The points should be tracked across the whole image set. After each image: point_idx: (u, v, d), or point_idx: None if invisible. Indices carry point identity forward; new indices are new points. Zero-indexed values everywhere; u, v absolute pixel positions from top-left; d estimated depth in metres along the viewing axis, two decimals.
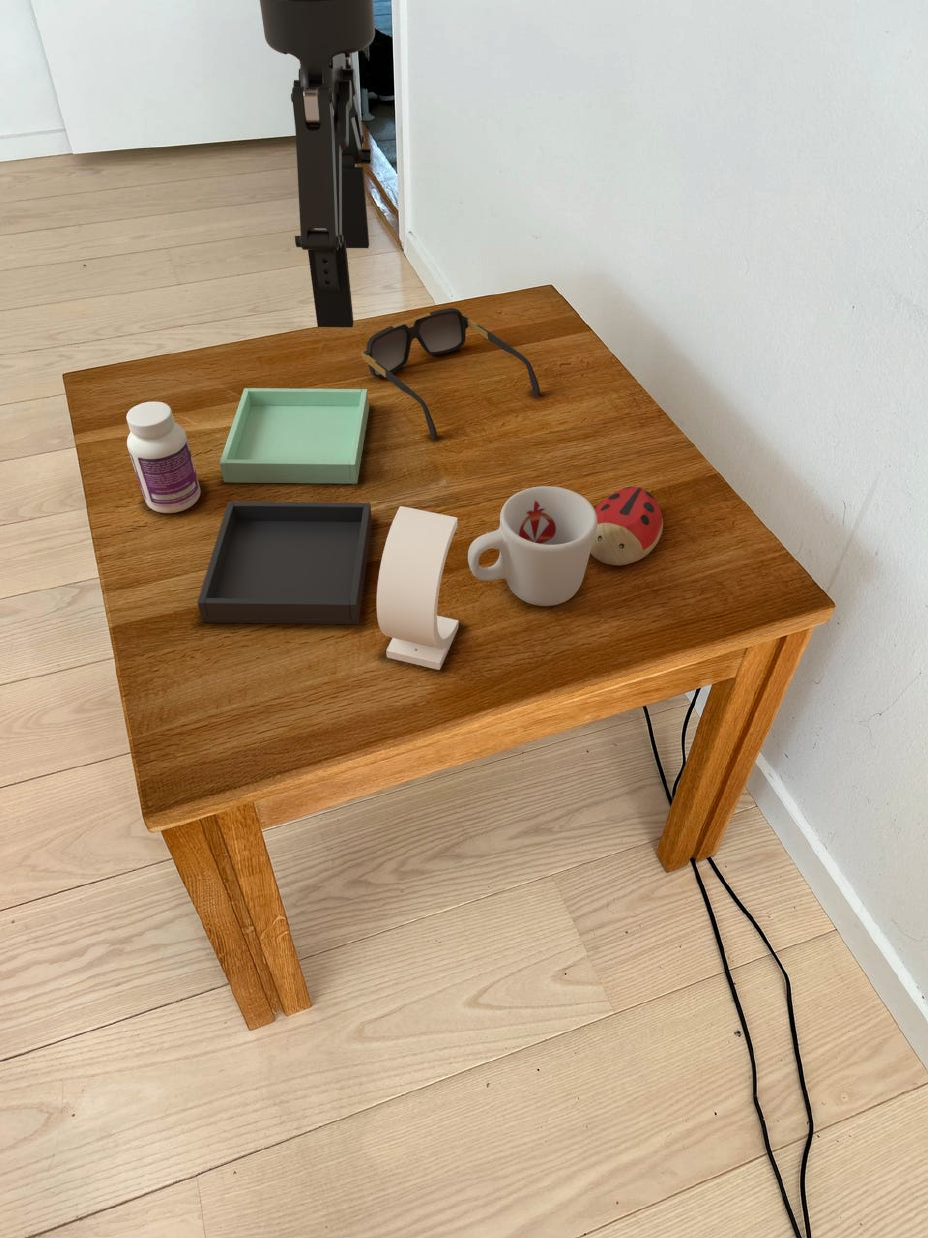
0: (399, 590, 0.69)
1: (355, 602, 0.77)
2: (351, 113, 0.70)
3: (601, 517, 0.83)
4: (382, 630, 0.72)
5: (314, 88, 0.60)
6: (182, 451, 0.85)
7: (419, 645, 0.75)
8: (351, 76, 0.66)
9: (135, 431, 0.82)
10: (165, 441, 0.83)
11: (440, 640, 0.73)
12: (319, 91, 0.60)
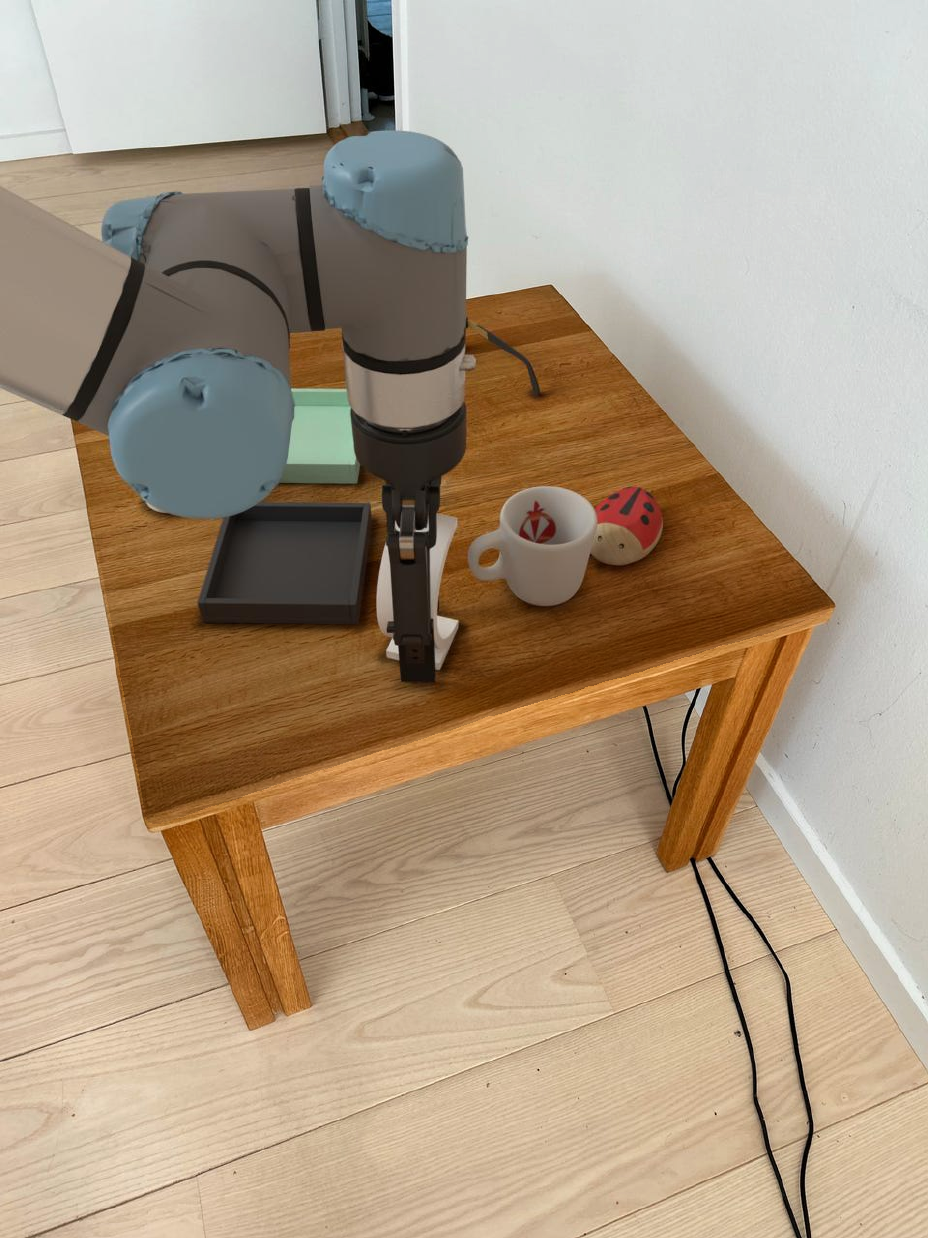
0: None
1: (355, 602, 0.77)
2: None
3: (601, 517, 0.83)
4: (382, 630, 0.72)
5: (410, 539, 0.59)
6: None
7: None
8: None
9: None
10: None
11: (440, 640, 0.73)
12: (415, 542, 0.59)
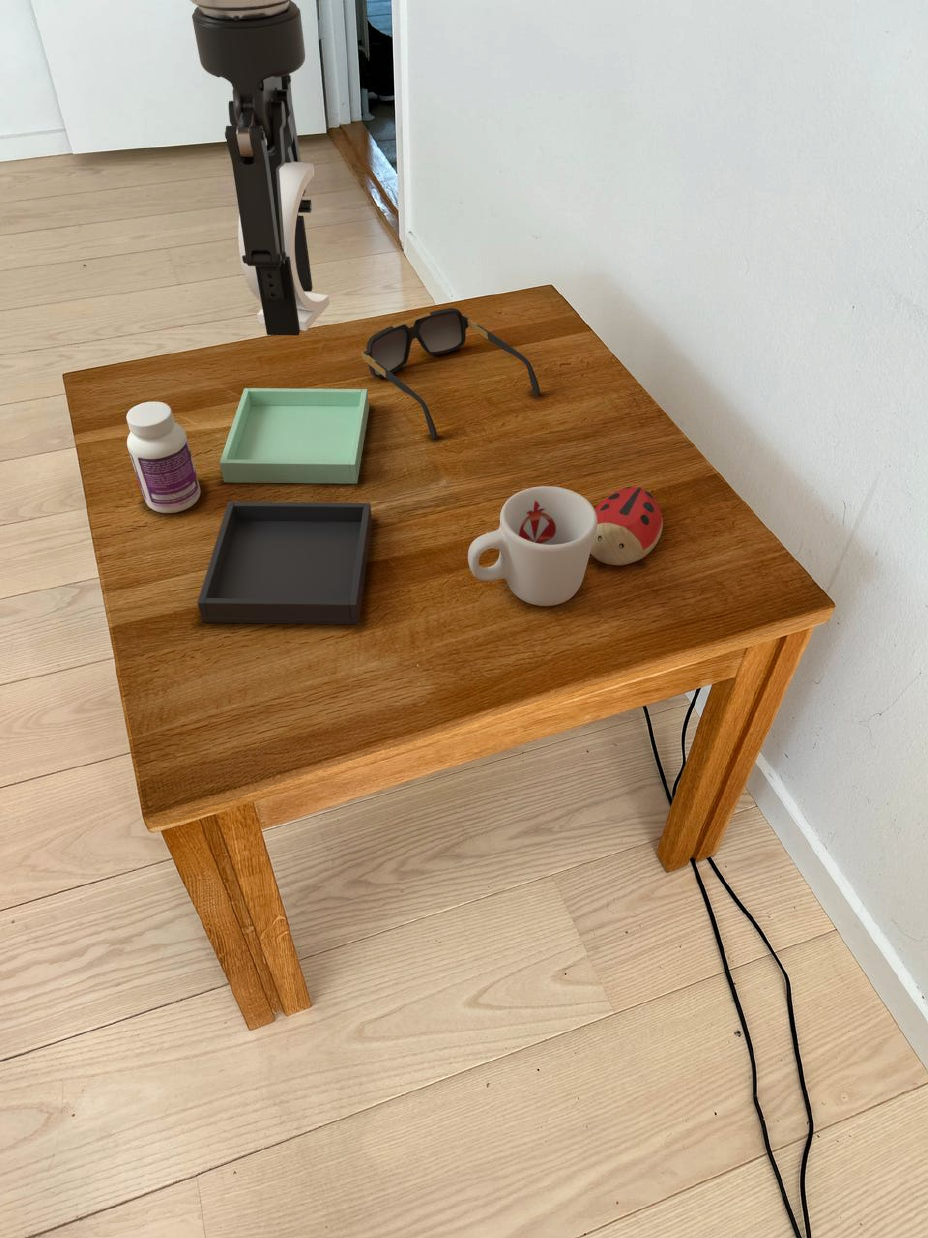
0: None
1: (355, 602, 0.77)
2: (287, 142, 0.73)
3: (601, 517, 0.83)
4: (248, 283, 0.77)
5: (246, 129, 0.64)
6: (182, 451, 0.85)
7: None
8: (285, 93, 0.69)
9: (135, 431, 0.82)
10: (165, 441, 0.83)
11: (303, 294, 0.78)
12: (251, 132, 0.64)
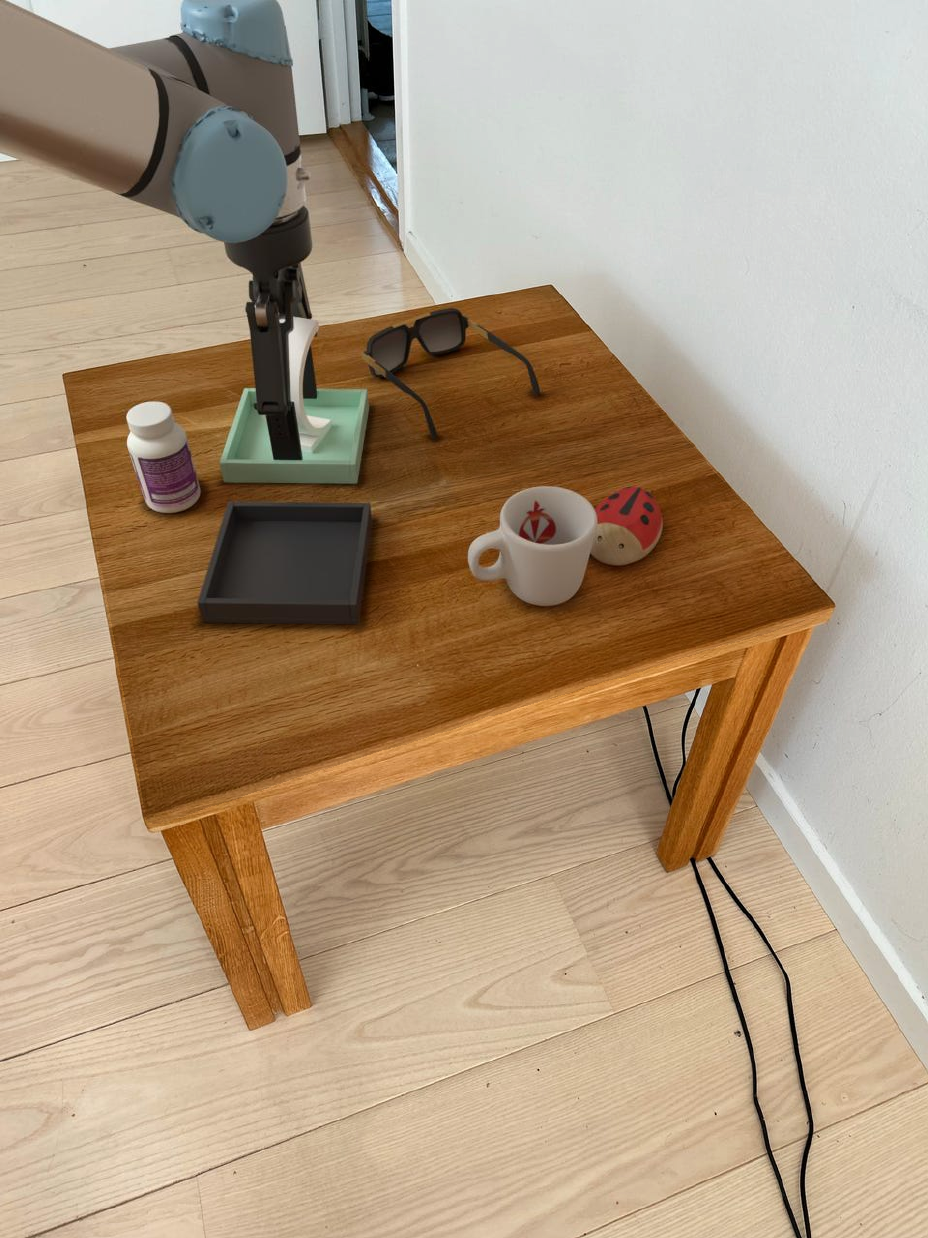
0: None
1: (355, 602, 0.77)
2: (297, 300, 0.87)
3: (601, 517, 0.83)
4: (263, 416, 0.91)
5: (263, 304, 0.78)
6: (182, 451, 0.85)
7: None
8: (295, 273, 0.83)
9: (135, 431, 0.82)
10: (165, 441, 0.83)
11: (310, 425, 0.92)
12: (267, 307, 0.78)
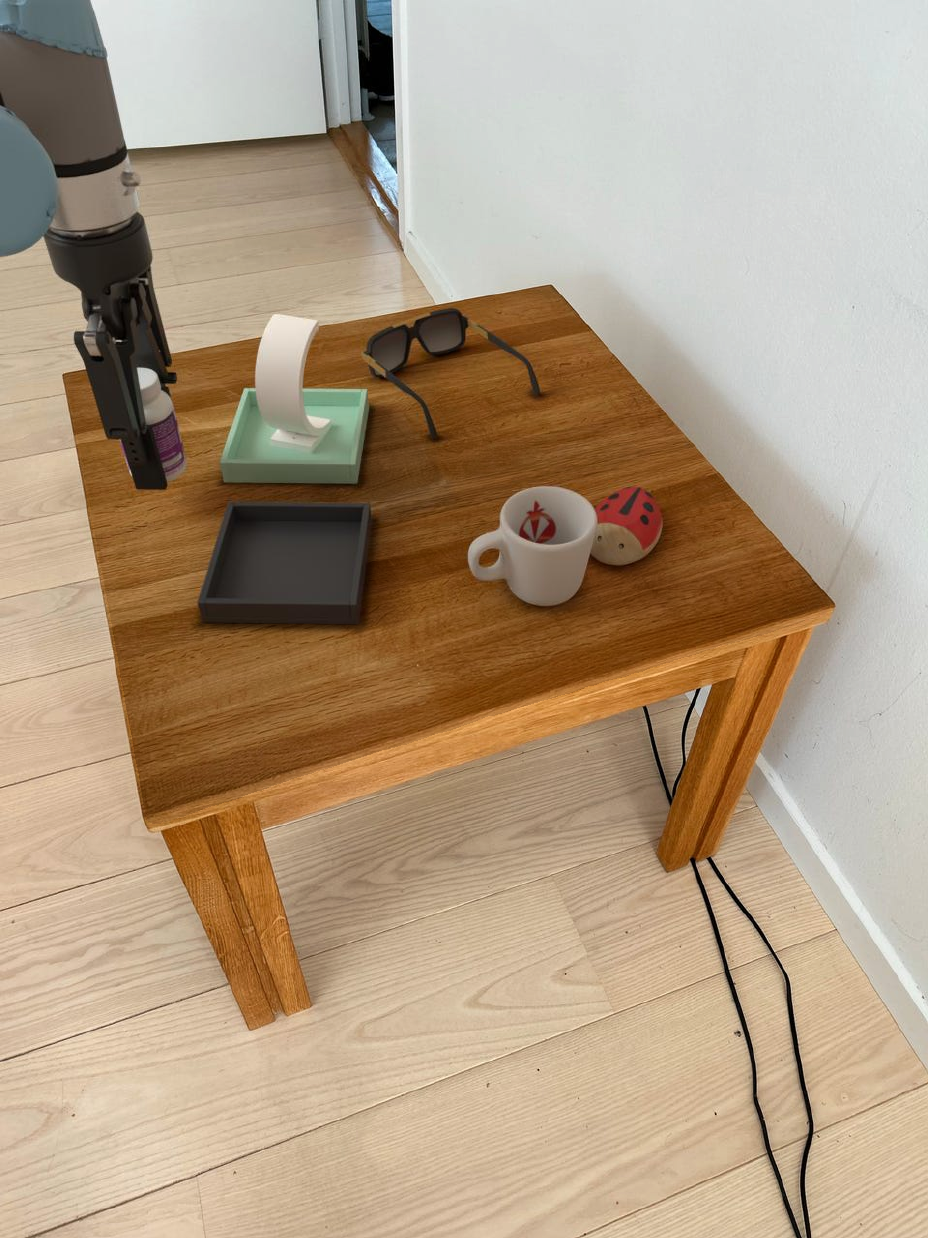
0: (271, 376, 0.88)
1: (355, 602, 0.77)
2: (144, 326, 0.78)
3: (601, 517, 0.83)
4: (263, 416, 0.91)
5: (92, 335, 0.70)
6: (169, 419, 0.82)
7: (296, 435, 0.94)
8: (138, 287, 0.75)
9: None
10: (150, 408, 0.81)
11: (310, 425, 0.92)
12: (97, 339, 0.70)
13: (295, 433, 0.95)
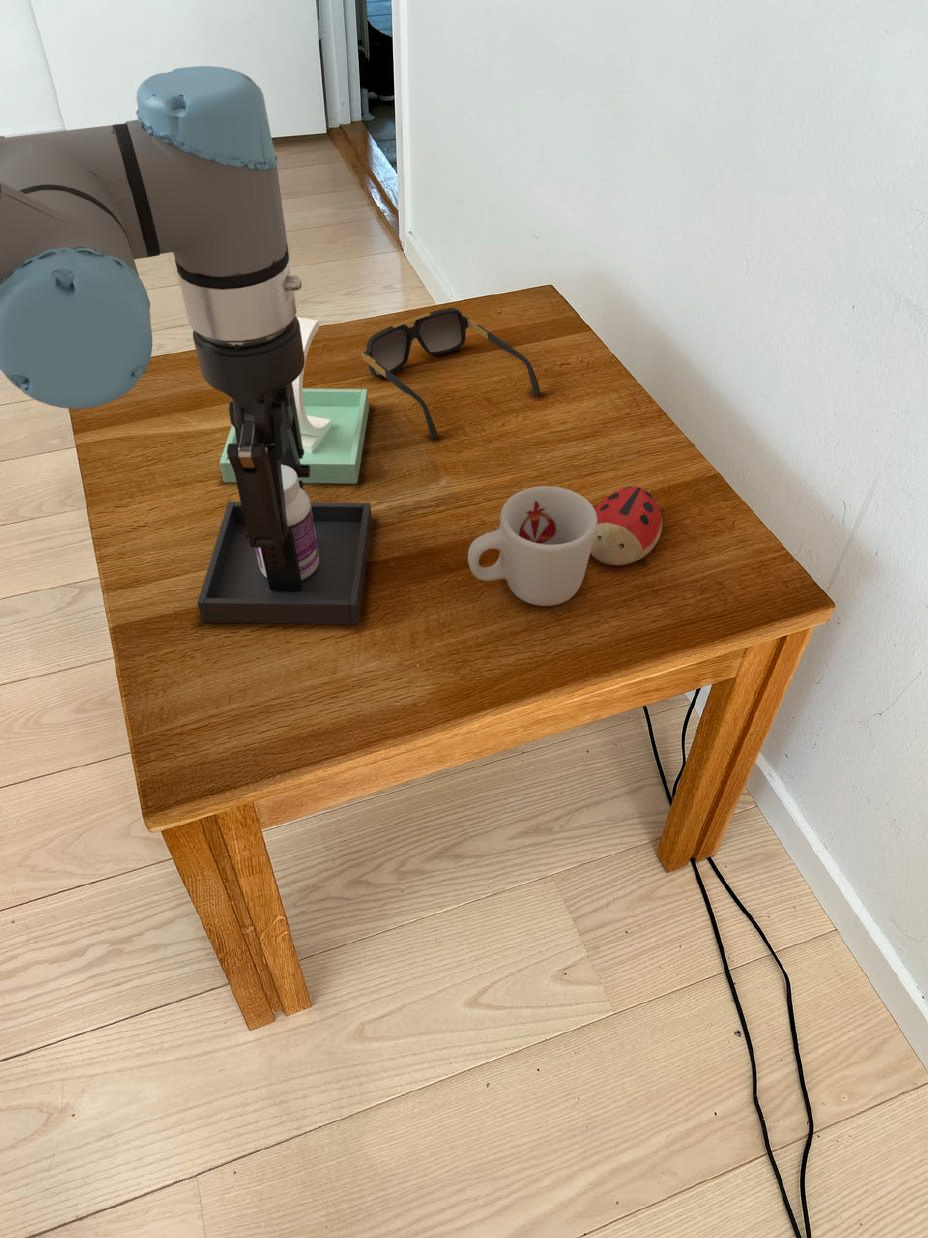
0: None
1: (355, 602, 0.77)
2: (286, 425, 0.73)
3: (601, 517, 0.83)
4: None
5: (247, 449, 0.65)
6: (307, 519, 0.77)
7: None
8: (285, 388, 0.70)
9: None
10: (290, 508, 0.76)
11: (310, 425, 0.92)
12: (252, 452, 0.65)
13: None
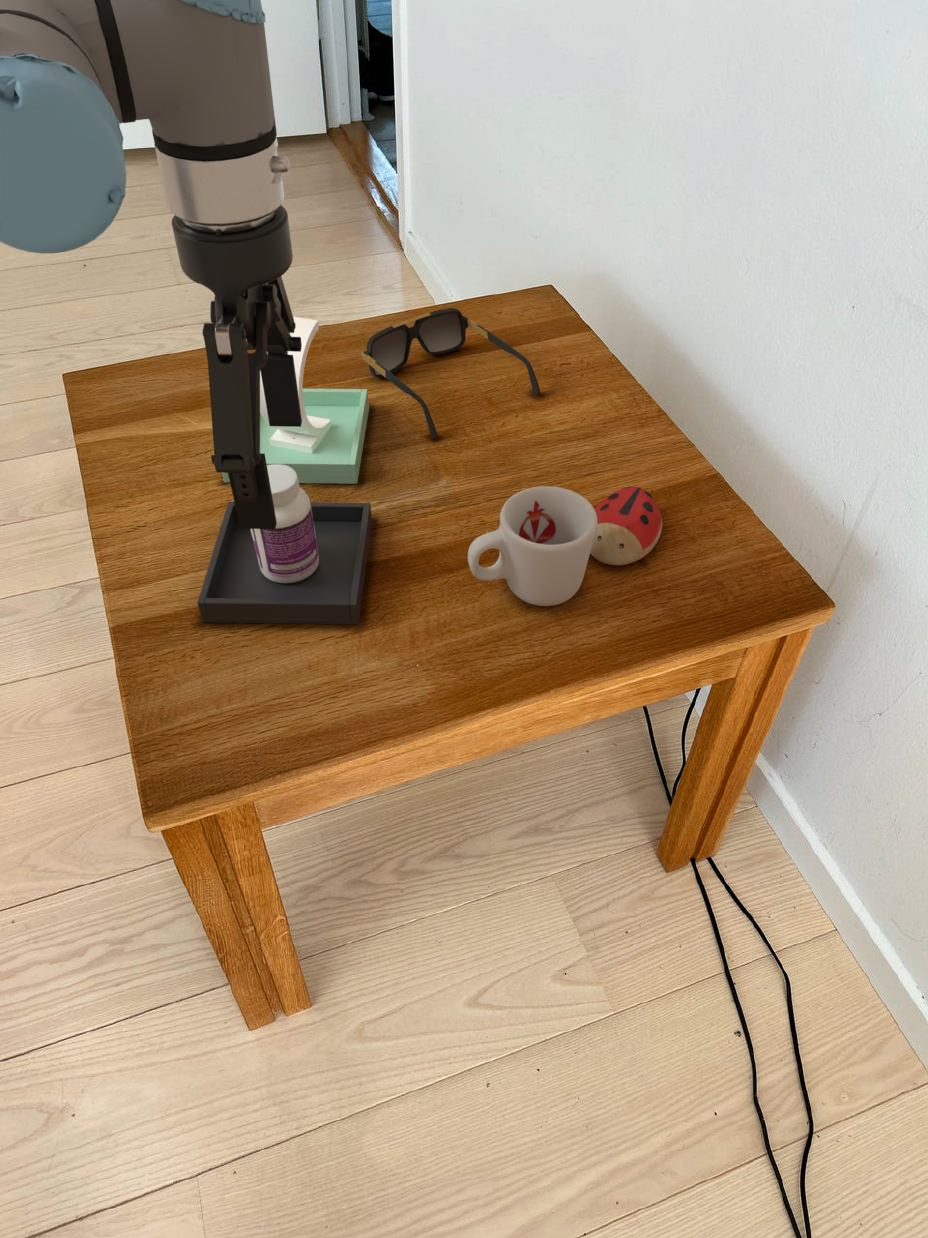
0: None
1: (355, 602, 0.77)
2: (274, 319, 0.69)
3: (601, 517, 0.83)
4: (263, 416, 0.91)
5: (226, 325, 0.60)
6: (307, 518, 0.77)
7: (296, 435, 0.94)
8: (271, 293, 0.65)
9: None
10: (290, 508, 0.76)
11: (310, 425, 0.92)
12: (230, 329, 0.59)
13: (295, 433, 0.95)
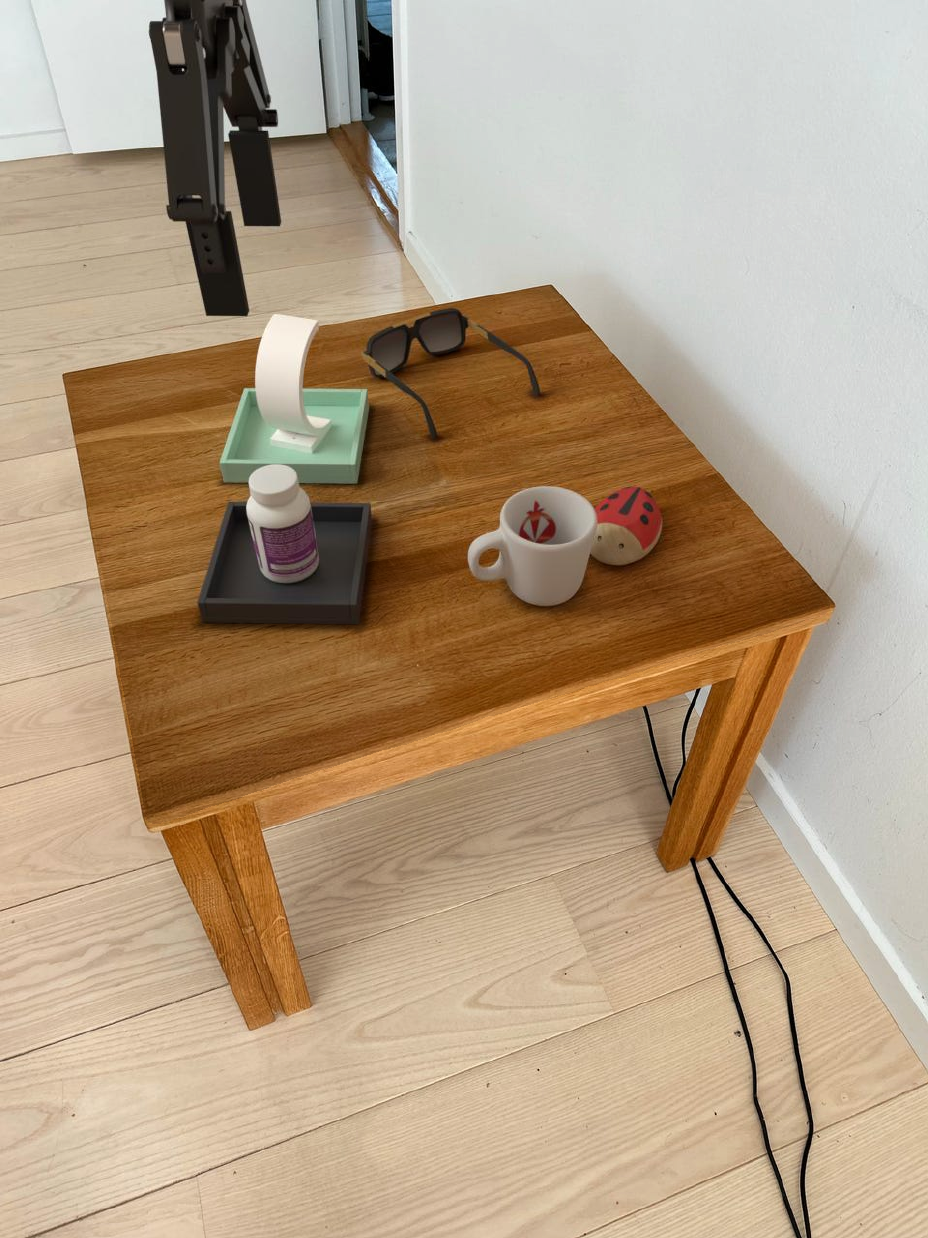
0: (271, 376, 0.88)
1: (355, 602, 0.77)
2: (242, 63, 0.59)
3: (601, 517, 0.83)
4: (263, 416, 0.91)
5: (176, 22, 0.49)
6: (307, 518, 0.77)
7: (296, 435, 0.94)
8: (236, 14, 0.55)
9: (258, 498, 0.75)
10: (290, 508, 0.76)
11: (310, 425, 0.92)
12: (182, 25, 0.49)
13: (295, 433, 0.95)
